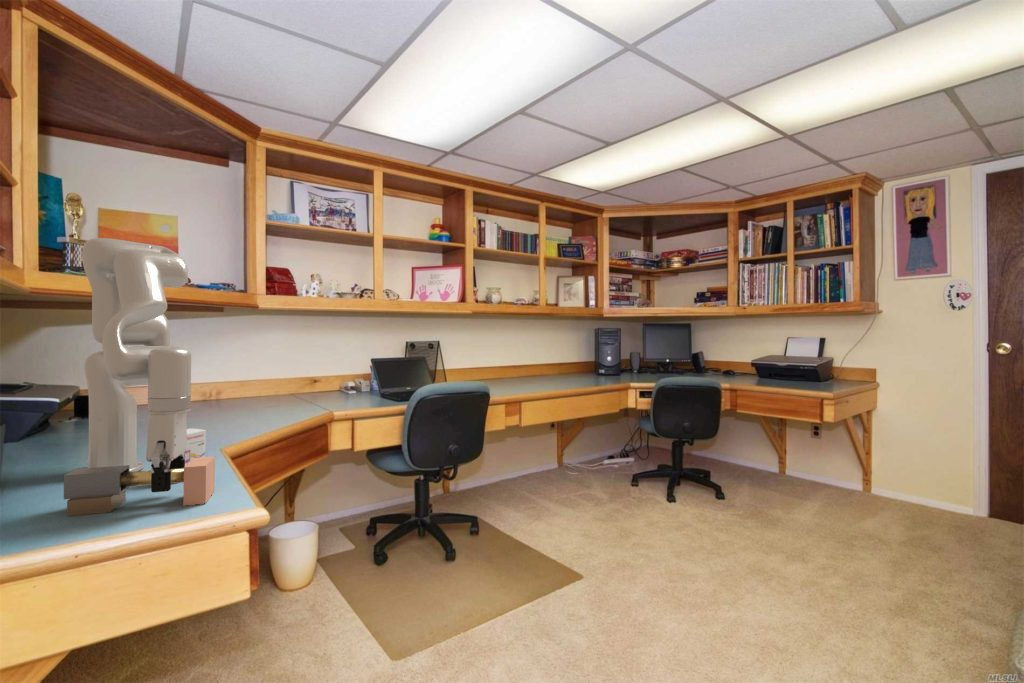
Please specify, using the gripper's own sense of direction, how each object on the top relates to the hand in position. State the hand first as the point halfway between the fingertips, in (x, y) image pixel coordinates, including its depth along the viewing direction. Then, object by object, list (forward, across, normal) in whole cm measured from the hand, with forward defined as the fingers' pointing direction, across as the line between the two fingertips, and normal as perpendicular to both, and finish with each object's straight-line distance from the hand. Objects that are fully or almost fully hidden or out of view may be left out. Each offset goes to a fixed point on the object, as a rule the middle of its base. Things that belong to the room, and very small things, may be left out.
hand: (168, 484), depth 101 cm
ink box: (+4, -18, -2) cm, 19 cm away
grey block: (+4, 0, -12) cm, 13 cm away
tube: (0, 0, -2) cm, 2 cm away
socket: (+4, 0, +6) cm, 7 cm away
